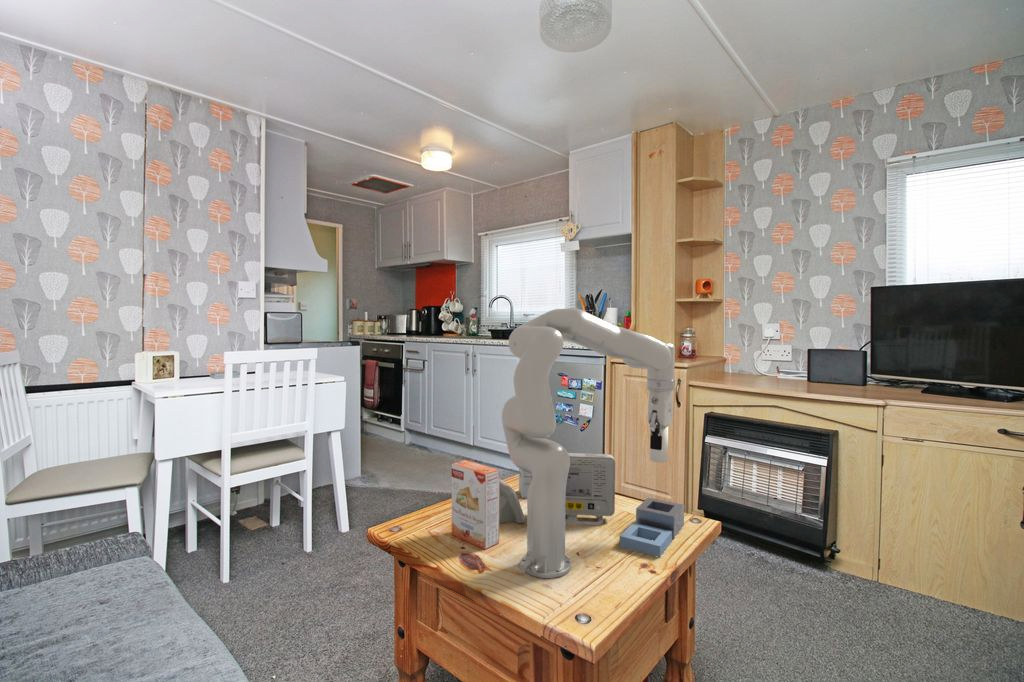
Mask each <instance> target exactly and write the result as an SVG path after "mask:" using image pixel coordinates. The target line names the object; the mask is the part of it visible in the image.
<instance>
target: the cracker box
mask: <svg viewBox="0 0 1024 682" xmlns="http://www.w3.org/2000/svg"><path fill="white" fill-rule="evenodd" d="M499 478H500V469H498V468H493V467H490V466H488V465H484V464H481V463H477V462H473V461H470V460H469V459H468V460H467V459H464V460H461V461H456V462H453V463H451V535H452V536H455V537H457V538H458V539H461V540H463V541H465V540H466V541H465V542H467V541H468V543H469V542H470V544H471V545H474V546H477V547H478V548H481V549H482V550H488V549H490V548H492V547H493V546H496V545H498V544H499V543H500V522H499Z"/></svg>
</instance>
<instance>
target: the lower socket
mask: <svg viewBox="0 0 1024 682" xmlns="http://www.w3.org/2000/svg"><path fill="white" fill-rule="evenodd" d="M652 540H653V541H652ZM672 542H673V539H672V531H668V530H664V529H659V528H655V527H651V526H646V525H642V524H638V523H636V522H632V524H630V525H629V526H628V527H627V528H626V530H624V532H622V533H621V534H620V535H619V547H620V548H622V549H626V550H629V549H630V550H629V551H634V552H638V553H642V554H644V553H645V555H648V556H651V557H656V556H657V557H656V558H659V557H660V558H661V557H662V556H661V555H663V554H664V553H665V552H664V551H666V550H667V549H668V548H669V546H670V545H671V544H672ZM670 543H671V544H670ZM669 544H670V545H669ZM667 547H668V548H667Z"/></svg>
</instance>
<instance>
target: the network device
mask: <svg viewBox="0 0 1024 682" xmlns="http://www.w3.org/2000/svg"><path fill="white" fill-rule="evenodd" d="M568 455H569V458H570V467H569V472H568V477H567V483H566V499H565V505H566V508H565V515H566V516H567V519H565V525H584V526H600V525H602V524H604V517H612V516H614V514H615V511H616V510H615V508H616V505H615V502H616V497H615V496H616V492H615V491H616V461H615V458H614V456H613V455H612V454H608V453H607V454H606V453H583V452H582V453H579V452H578V453H577V452H575V453H574V452H568ZM532 478H533V475H532V474H531V482H532ZM578 516H592V517H593V516H594V517H595V516H597V517H598V518H597V519H598V521H585V520H584V521H583V520H582V521H581V520H578Z"/></svg>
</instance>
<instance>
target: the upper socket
mask: <svg viewBox="0 0 1024 682" xmlns="http://www.w3.org/2000/svg"><path fill="white" fill-rule="evenodd" d="M635 509H636V510H635V523H638V524H642V525H646V526H651V527H655V528H659V529H664V530H668V531H672V538H673V539H672V540H675V539H676V537H677V536H678V535H679V533H680V532H681V531H682V529H683V528H684V527H685V504H682V503H677V502H672V501H667V500H662V499H656V498H652V497H647V498H646V499H645V500H643V502H642V503H641V504H639V505H638V506H637V507H636V508H635ZM683 526H684V527H683ZM682 527H683V528H682ZM681 528H682V529H681ZM680 530H681V531H680ZM679 531H680V532H679ZM678 532H679V533H678ZM677 534H678V535H677ZM676 535H677V536H676ZM675 536H676V537H675ZM674 538H675V539H674Z"/></svg>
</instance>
